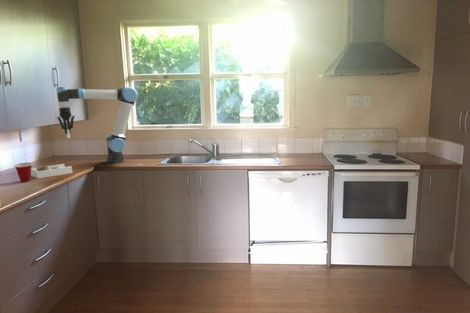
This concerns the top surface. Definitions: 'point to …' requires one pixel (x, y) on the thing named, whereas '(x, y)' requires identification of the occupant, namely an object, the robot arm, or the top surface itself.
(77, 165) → the top surface
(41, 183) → the top surface
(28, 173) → the plastic cup
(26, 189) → the top surface
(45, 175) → the box
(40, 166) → the walnut block
